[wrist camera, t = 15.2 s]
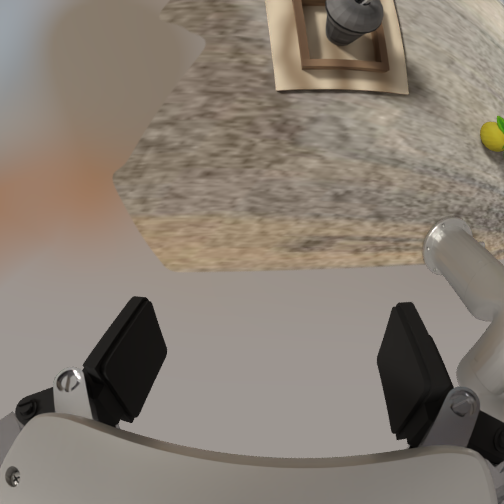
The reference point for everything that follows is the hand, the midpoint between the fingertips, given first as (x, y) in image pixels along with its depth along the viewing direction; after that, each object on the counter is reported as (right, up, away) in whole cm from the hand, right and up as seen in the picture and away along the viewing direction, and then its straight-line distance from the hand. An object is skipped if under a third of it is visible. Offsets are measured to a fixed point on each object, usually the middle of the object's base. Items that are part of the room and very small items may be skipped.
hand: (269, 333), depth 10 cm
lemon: (+43, +25, +24) cm, 56 cm away
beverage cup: (+13, +37, +22) cm, 45 cm away
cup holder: (+13, +38, +22) cm, 46 cm away
